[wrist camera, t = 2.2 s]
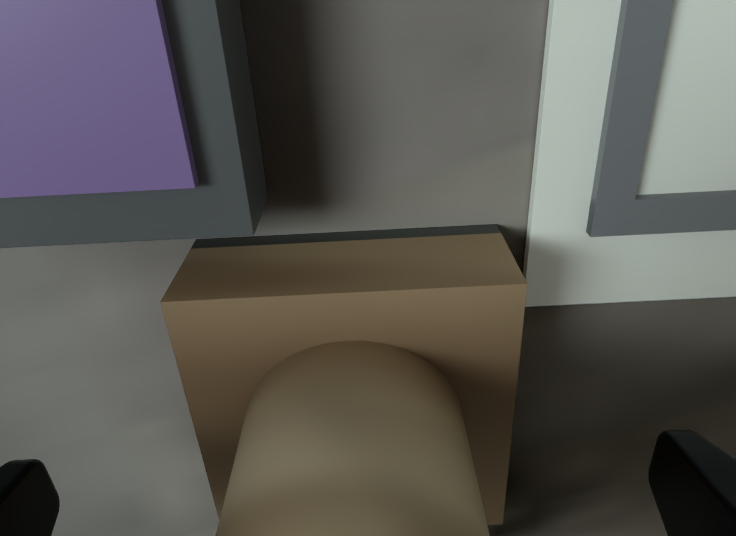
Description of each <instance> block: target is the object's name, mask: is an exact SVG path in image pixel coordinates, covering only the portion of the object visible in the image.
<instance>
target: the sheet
mask: <svg viewBox="0 0 736 536" xmlns="http://www.w3.org/2000/svg"><path fill="white" fill-rule="evenodd" d="M523 276H524V278H525V280H526V282H527V293H526V302H525V307H531V306H551V305H572V304H592V303H613V302H633V301H654V300H675V299H695V298H716V297H736V0H550V1H549V11H548V21H547V31H546V42H545V52H544V62H543V72H542V82H541V93H540V103H539V113H538V123H537V134H536V144H535V154H534V164H533V174H532V185H531V195H530V205H529V215H528V226H527V236H526V246H525V256H524V266H523Z"/></svg>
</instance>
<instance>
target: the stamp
mask: <svg viewBox="0 0 736 536" xmlns="http://www.w3.org/2000/svg"><path fill="white" fill-rule="evenodd" d="M526 293H527V282H526V280H525V278H524V276H523V274H522V272H521V270H520V268H519V266H518V265H517V263H516V261H515V259H514V257H513V255H512V253H511V251H510V249H509V247H508V245H507V243H506V241H505V239H504V237H503V236H502V234H501V232H500V230H499V228H498V226H497V224H488V225H468V226H449V227H429V228H409V229H390V230H370V231H350V232H331V233H311V234H291V235H272V236H252V237H232V238H213V239H196V241H195V243H194V244H193V246H192V248H191V249H190V251H189V253H188V255H187V256H186V258H185V260H184V262H183V263H182V265H181V267H180V269H179V270H178V272H177V274H176V276H175V277H174V279H173V281H172V283H171V284H170V286H169V288H168V290H167V291H166V293H165V295H164V297H163V298H162V300H161V302H160V303H161V306H162V310H163V314H164V318H165V321H166V325H167V329H168V332H169V336H170V340H171V343H172V347H173V351H174V354H175V358H176V362H177V365H178V369H179V373H180V377H181V380H182V384H183V388H184V391H185V395H186V399H187V402H188V406H189V410H190V413H191V417H192V421H193V424H194V428H195V432H196V436H197V439H198V443H199V447H200V450H201V454H202V458H203V461H204V465H205V469H206V472H207V476H208V480H209V484H210V487H211V491H212V495H213V498H214V502H215V506H216V509H217V513H218V517H219V520H220V521H219V525H218V529H217V533H216V536H490V534H489V529H488V525H498V524H503V517H504V507H505V497H506V487H507V478H508V468H509V458H510V448H511V439H512V429H513V419H514V409H515V400H516V390H517V380H518V370H519V361H520V351H521V341H522V331H523V322H524V312H525V302H526Z"/></svg>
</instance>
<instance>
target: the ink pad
mask: <svg viewBox="0 0 736 536" xmlns="http://www.w3.org/2000/svg"><path fill="white" fill-rule="evenodd" d="M267 198H268V194H267V187H266V180H265V173H264V166H263V159H262V152H261V146H260V139H259V132H258V125H257V118H256V111H255V104H254V97H253V90H252V83H251V77H250V70H249V63H248V56H247V49H246V42H245V35H244V28H243V21H242V14H241V8H240V1H239V0H0V248H11V247H31V246H51V245H71V244H90V243H110V242H130V241H150V240H170V239H190V238H209V237H229V236H249V235H254V233H255V230H256V228H257V225H258V222H259V220H260V217H261V214H262V212H263V209H264V206H265V204H266V201H267Z"/></svg>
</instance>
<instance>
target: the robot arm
mask: <svg viewBox="0 0 736 536" xmlns="http://www.w3.org/2000/svg"><path fill="white" fill-rule="evenodd" d="M648 476H649V483H650V487H651V490H652V493H653V495H654V498H655V501H656V504H657V507H658V509H659V512H660V515H661V518H662V521H663V523H664V526H665V529H666V532H667V535H668V536H736V460H735V459H734V458H732V457H731V456H730V455H728V454H727V453H725V452H724V451H722V450H721V449H719V448H718V447H716V446H715V445H713V444H712V443H711V442H709V441H708V440H706V439H705V438H703V437H702V436H700V435H699V434H697V433H696V432H694V431H691V430H666V431H662V432H661V433H660V434H659V436H658V438H657V441H656V445H655V448H654V452H653V456H652V459H651V463H650V466H649V474H648ZM58 512H59V496H58V493H57V491H56V489H55V487H54V484H53V482H52V480H51V478H50V476H49V474H48V472H47V469H46V467H45V465H44V464H43V463H42V462H41V461H40V460H37V459H27V460H13V461H9V462H7V463H5V464H4V465H2V466H1V467H0V536H51V535H52V532H53V528H54V525H55V522H56V519H57V516H58Z"/></svg>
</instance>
